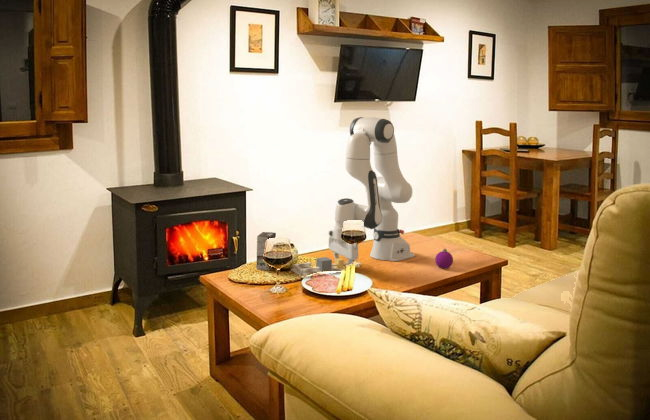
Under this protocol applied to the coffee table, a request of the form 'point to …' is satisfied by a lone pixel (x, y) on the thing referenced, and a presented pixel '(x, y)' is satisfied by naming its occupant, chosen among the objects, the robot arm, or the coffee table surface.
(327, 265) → the cord block
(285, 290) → the coffee table surface
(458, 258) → the coffee table surface
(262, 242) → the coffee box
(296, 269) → the lane shelf
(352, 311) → the coffee table surface
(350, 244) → the robot arm
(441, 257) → the christmas ornament
